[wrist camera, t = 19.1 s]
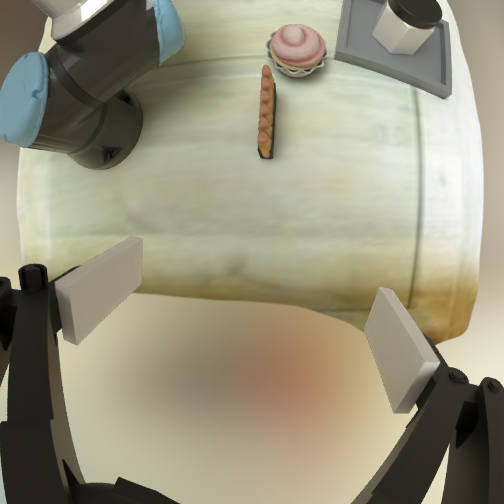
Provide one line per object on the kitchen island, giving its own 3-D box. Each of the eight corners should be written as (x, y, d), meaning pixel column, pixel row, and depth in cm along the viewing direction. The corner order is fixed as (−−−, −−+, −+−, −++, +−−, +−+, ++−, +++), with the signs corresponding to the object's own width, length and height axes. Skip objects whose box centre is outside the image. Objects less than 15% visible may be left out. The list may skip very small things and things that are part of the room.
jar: (411, 64, 36) (441, 33, 25) (367, 43, 37) (388, 5, 25) (418, 31, 35) (444, -1, 23) (377, 11, 35) (395, -26, 23)
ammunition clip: (272, 159, 43) (269, 142, 31) (260, 158, 43) (252, 141, 31) (276, 93, 41) (274, 58, 29) (264, 93, 41) (258, 58, 29)
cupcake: (322, 91, 40) (331, 64, 30) (262, 81, 41) (257, 52, 31) (327, 45, 38) (336, 13, 29) (271, 36, 39) (268, 2, 29)
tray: (333, 59, 39) (336, 50, 36) (344, -8, 36) (346, -17, 33) (443, 99, 38) (451, 94, 35) (442, 29, 35) (448, 22, 32)
